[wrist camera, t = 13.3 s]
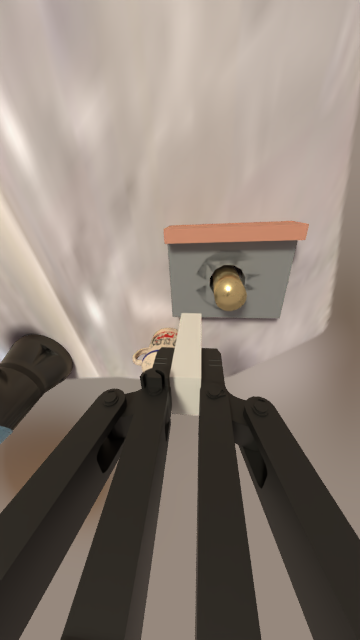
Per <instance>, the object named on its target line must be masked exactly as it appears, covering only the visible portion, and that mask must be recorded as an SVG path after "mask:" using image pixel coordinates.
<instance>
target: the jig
mask: <svg viewBox="0 0 360 640" xmlns="http://www.w3.org/2000/svg"><path fill="white" fill-rule="evenodd" d="M308 226H309V224H306V223H300V222H295V221H281V222H254V223H228V224H202V225H176V226H169V227H167V228H165V229H164V240H165V244H168V256H169V271H170V285H171V299H172V314H173V317H181V313H201V317H219V318H280V314H281V310H282V306H283V301H284V297H285V292H286V288H287V284H288V279H289V275H290V271H291V266H292V262H293V258H294V253H295V249H296V244H297V240H305V239H306V235H307V231H308ZM223 265H234V266H236V267H238V268H240V269H241V270H242V279H241V281H242V283H243V286H244V288H245V290H246V293H247V298H246V301H245V303H244V304H243V305H242V306H241V307H240V308H239V309H237V310H234V311H225V310H222V309H221V308H219V307H218V306H217V304H216V303H215V299H214V288H213V286H212V284H211V282H210V277H211V275H212V274H213V272H214V271H215V270H216V269H217V268H219V267H221V266H223Z"/></svg>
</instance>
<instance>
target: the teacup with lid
mask: <svg viewBox="0 0 360 640" xmlns="http://www.w3.org/2000/svg"><path fill="white" fill-rule="evenodd" d="M177 334H178V330H177V329H173V328H164V329H161V330H159V331H158V332H156V333H155V335H154V336H153V338H152V341H151V344H150V346H149V348H143V349H140V350H138V351H137V352H136V353H135V354H134V355H133V362H134V364H136V365H141V366H142V370H143V372H144V371H146V370H148V369H150V368H152V367H153V364H154V360H155V357H156V354H157V351H158V350H159V349H160V348H161V347H172V348H175V345H176V339H177ZM144 353H147V354H146V355H145V357H144V358H143V360H137V358H138V357H139V356H140V355H142V354H144Z"/></svg>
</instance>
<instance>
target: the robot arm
mask: <svg viewBox="0 0 360 640" xmlns="http://www.w3.org/2000/svg"><path fill="white" fill-rule="evenodd" d="M72 368H73V363H72V359H71V357H70V355H69V354H68V352H67V351H66V350H65V349H64V348H63V347H62V346H61V345H60V344H58V343H57V342H55V341H54V340H52V339H50V338H48V337H45V336H41V335H35V334H31V335H26V336H23V337H22V338H20V339H19V340H18V341H16V342H15V343H14V344H13V345H12V347H11V349H10V351H9V352H8V353H7V355H6V356H5V357H4V359H3V360H2V362H1V363H0V444H1V443H2V442H3V441H4V440H5V439H6V438H7V437H8V436H9V435H10V434H11V433H12V432H13V430H14V429H15V427H16V426H17V425H18V424H19V423H20V421H21V420H22V419H23V418H24V417H25V416H26V414H27V413H28V412H29V411H30V410H31V408H32V407H33V406H34V405H35V404H36V403H37V401H38V400H39V399H40V398H41V397H42V395H43V394H44V393H45V392H47V391H48V390H50V389H51V388H53V387H55V386H56V385H57V384H59V383H61V382H62V381H64V380H65V379H66V378H67V377H68V375H69V374H70V373H71V371H72ZM140 380H141V386H142V389H140V390H138V391H136V392H132V393H127V394H124V392H123V391H121V390H119V389H110V390H107V391H105V392H103V393H102V394H101V395H100V396H99V397H98V398H97V399H96V400H95V402H94V403H93V404H92V405H91V407H90V408H89V409H88V410H87V411H86V412H85V414H84V415H83V416H82V417H81V418H80V420H79V421H78V422H77V423H76V424H75V425H74V427H73V428H72V429H71V430H70V431H69V433H68V434H67V435H66V436H65V437H64V439H63V440H62V441H61V442H60V443H59V445H58V446H57V447H56V448H55V449H54V451H53V452H52V453H51V454H50V455H49V456H48V458H47V459H46V460H45V461H44V462H43V464H42V465H41V466H40V467H39V468H38V470H37V471H36V472H35V473H34V474H33V475H32V477H31V478H30V479H29V480H28V481H27V483H26V484H25V485H24V486H23V488H22V489H21V490H20V491H19V492H18V493H17V495H16V496H15V497H14V498H13V499H12V501H11V502H10V503H9V504H8V505H7V507H6V508H5V509H4V510H3V511H2V512H1V514H0V640H19V638H20V636H21V635H22V633H23V631H24V629H25V627H26V626H27V624H28V622H29V620H30V618H31V616H32V615H33V613H34V611H35V609H36V608H37V606H38V604H39V602H40V600H41V598H42V596H43V595H44V593H45V591H46V589H47V588H48V586H49V584H50V582H51V580H52V578H53V577H54V575H55V573H56V571H57V570H58V568H59V566H60V564H61V562H62V561H63V559H64V557H65V555H66V553H67V551H68V550H69V548H70V546H71V544H72V543H73V541H74V539H75V537H76V535H77V533H78V532H79V530H80V528H81V526H82V524H83V523H84V521H85V519H86V517H87V515H88V514H89V512H90V510H91V508H92V506H93V505H94V503H95V501H96V499H97V497H98V496H99V494H100V492H101V490H102V488H103V486H104V485H105V483H106V481H107V479H108V478H109V476H110V474H111V472H112V470H113V469H114V467H115V465H116V463H117V461H118V460H119V462H118V464H117V468H116V471H115V474H114V477H113V480H112V483H111V486H110V489H109V492H108V495H107V498H106V502H105V505H104V508H103V511H102V514H101V517H100V520H99V523H98V526H97V529H96V533H95V535H94V538H93V542H92V545H91V548H90V551H89V554H88V557H87V560H86V563H85V566H84V570H83V572H82V576H81V579H80V582H79V585H78V588H77V591H76V594H75V597H74V600H73V603H72V606H71V610H70V613H69V616H68V619H67V622H66V625H65V628H64V631H63V634H62V637H61V640H141V634H142V627H143V620H144V613H145V605H146V598H147V591H148V584H149V577H150V570H151V562H152V555H153V548H154V541H155V534H156V527H157V519H158V512H159V505H160V497H161V491H162V484H163V477H164V469H165V462H166V455H167V448H168V440H169V433H170V426H171V419H170V417H171V410H172V414H182V415H195V416H199V433H198V435H199V441H198V500H197V558H196V559H197V561H196V617H195V618H196V619H195V640H261V634H260V628H259V627H260V626H259V620H258V612H257V604H256V597H255V590H254V582H253V575H252V568H251V560H250V553H249V545H248V538H247V531H246V524H245V516H244V508H243V501H242V494H241V486H240V479H239V472H238V464H237V457H236V450H235V443H236V444H238V445H239V448H240V450H241V453H242V455H243V458H244V461H245V463H246V466H247V468H248V471H249V473H250V476H251V479H252V481H253V484H254V486H255V489H256V492H257V494H258V497H259V499H260V502H261V505H262V507H263V510H264V512H265V515H266V517H267V520H268V523H269V525H270V528H271V531H272V533H273V536H274V538H275V541H276V543H277V546H278V549H279V551H280V554H281V556H282V559H283V562H284V564H285V567H286V569H287V572H288V574H289V577H290V580H291V582H292V585H293V588H294V590H295V593H296V595H297V598H298V600H299V603H300V606H301V608H302V611H303V613H304V616H305V619H306V621H307V624H308V626H309V629H310V632H311V634H312V637H313V639H314V640H360V539H359V538H358V536H357V535H356V533H355V532H354V530H353V528H352V527H351V525H350V524H349V522H348V521H347V519H346V518H345V516H344V515H343V513H342V511H341V510H340V508H339V507H338V505H337V503H336V502H335V500H334V499H333V497H332V496H331V494H330V493H329V491H328V489H327V488H326V486H325V485H324V483H323V482H322V480H321V479H320V477H319V476H318V474H317V472H316V471H315V469H314V468H313V466H312V464H311V463H310V462H309V460H308V458H307V457H306V455H305V454H304V452H303V450H302V449H301V447H300V446H299V444H298V443H297V441H296V440H295V438H294V436H293V435H292V433H291V432H290V430H289V429H288V427H287V426H286V424H285V422H284V421H283V419H282V418H281V416H280V415H279V413H278V411H277V410H276V408H275V407H274V406H273V404H271V402H269V401H268V400H266V399H265V398H261V397H251V398H249V399H247V400H242V399H240V398H237V397H235V396H233V395H232V394H230V393H229V392H228V391H227V389H226V387H225V383H224V375H223V367H222V359H221V354H220V352H219V351H218V350H217V349H211V348H201V313H181V318H180V324H179V329H178V334H177V339H176V345H175V348H172V347H161V348H160V349H159V350H158V351H157V354H156V357H155V360H154V364H153V367H152V368H150V369H148V370H146V371H144V372H143V373H142V374H141V376H140Z"/></svg>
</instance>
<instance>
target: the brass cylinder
mask: <svg viewBox="0 0 360 640" xmlns="http://www.w3.org/2000/svg"><path fill="white" fill-rule="evenodd" d="M212 277H213V288H214V299H215V303H216V304H217V306H218V307H219V308H221V309H222V310H225V311H234V310H237V309H239V308H240V307H241V306H242V305H243V304H244V303H245V301H246V298H247V293H246V290H245V288H244V286H243V283H242V281H241V279H240V277H239V275H238V273H237V271H236V269H235V268H234V267H233V266H232V265H223V266H221V267H219V268H217V269H216V270H215V271H214V272H213V276H212Z"/></svg>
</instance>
